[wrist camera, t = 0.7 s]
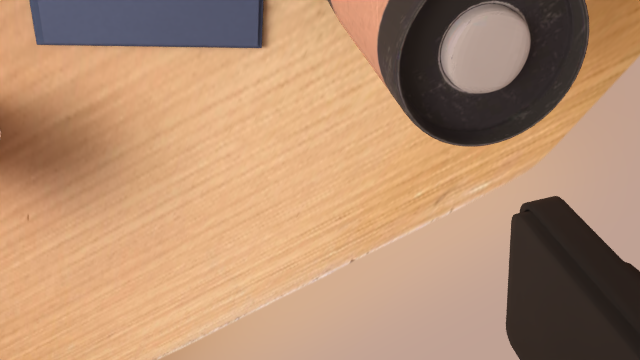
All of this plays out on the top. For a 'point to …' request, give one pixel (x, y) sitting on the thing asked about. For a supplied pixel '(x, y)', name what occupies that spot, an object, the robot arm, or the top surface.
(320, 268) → the top surface
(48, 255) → the top surface
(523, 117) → the travel mug
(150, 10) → the blue flat rectangular slab
